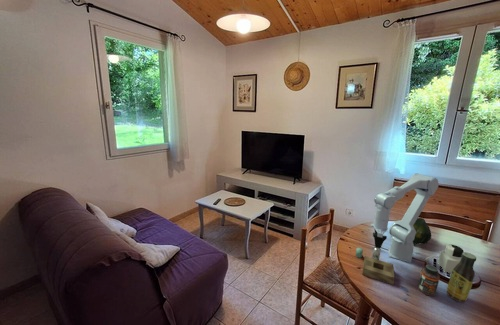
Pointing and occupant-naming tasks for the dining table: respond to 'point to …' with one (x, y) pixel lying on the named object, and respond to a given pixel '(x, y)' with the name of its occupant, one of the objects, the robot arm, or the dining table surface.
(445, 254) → the medicine bottle
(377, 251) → the long pin
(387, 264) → the hole block
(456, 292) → the sauce bottle
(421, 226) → the squash
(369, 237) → the dining table surface
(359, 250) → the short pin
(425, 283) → the supplement bottle
